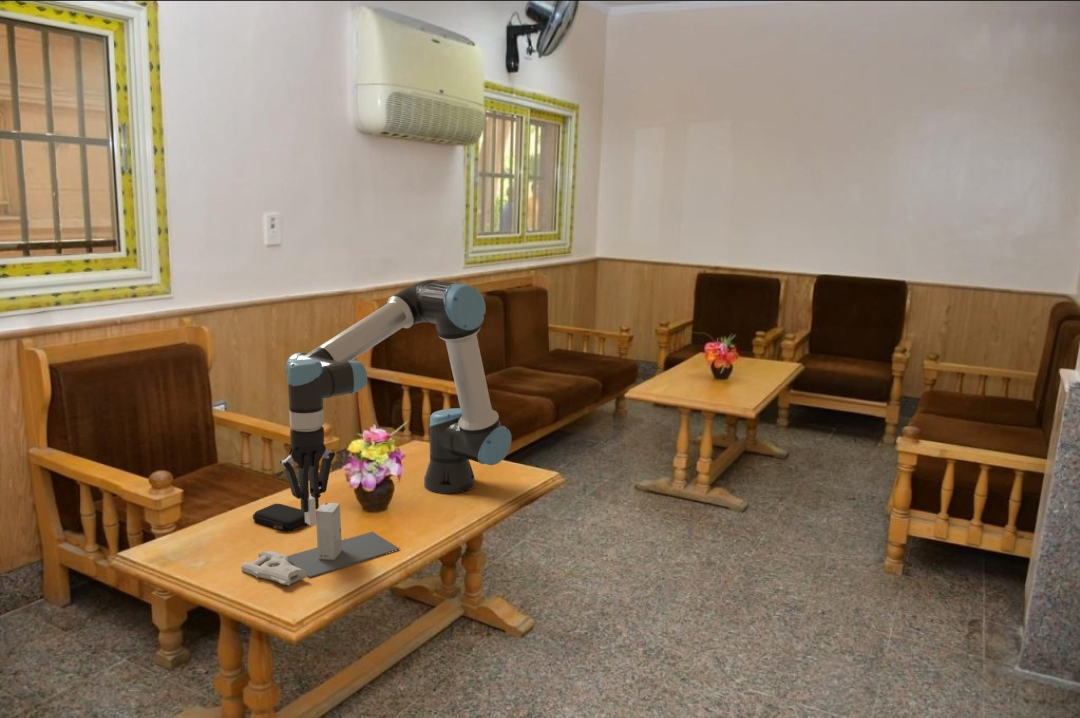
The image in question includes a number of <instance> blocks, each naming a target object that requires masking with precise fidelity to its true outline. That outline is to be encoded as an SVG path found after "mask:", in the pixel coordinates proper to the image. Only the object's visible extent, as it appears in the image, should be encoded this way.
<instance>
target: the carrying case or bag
mask: <svg viewBox="0 0 1080 718" xmlns="http://www.w3.org/2000/svg"><path fill="white" fill-rule="evenodd" d="M252 519H253V521H254V522H256V523H259V524H262V525H265V526H267V527H272V528H273V529H274V530H282V531H286V532H291V531H295V530H297V529H299V528H301V527H303V526H306V525H308V524H307V523H305V512H303V511H302V510H301V508H298V507H297V508H296V507H294V506H293V507H292V506H290V505H286V504H282V503H273V504H271V505H268V506H265V507H263V508H261V509H258V510H256V511H255V512H254V513H253V515H252Z"/></svg>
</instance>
